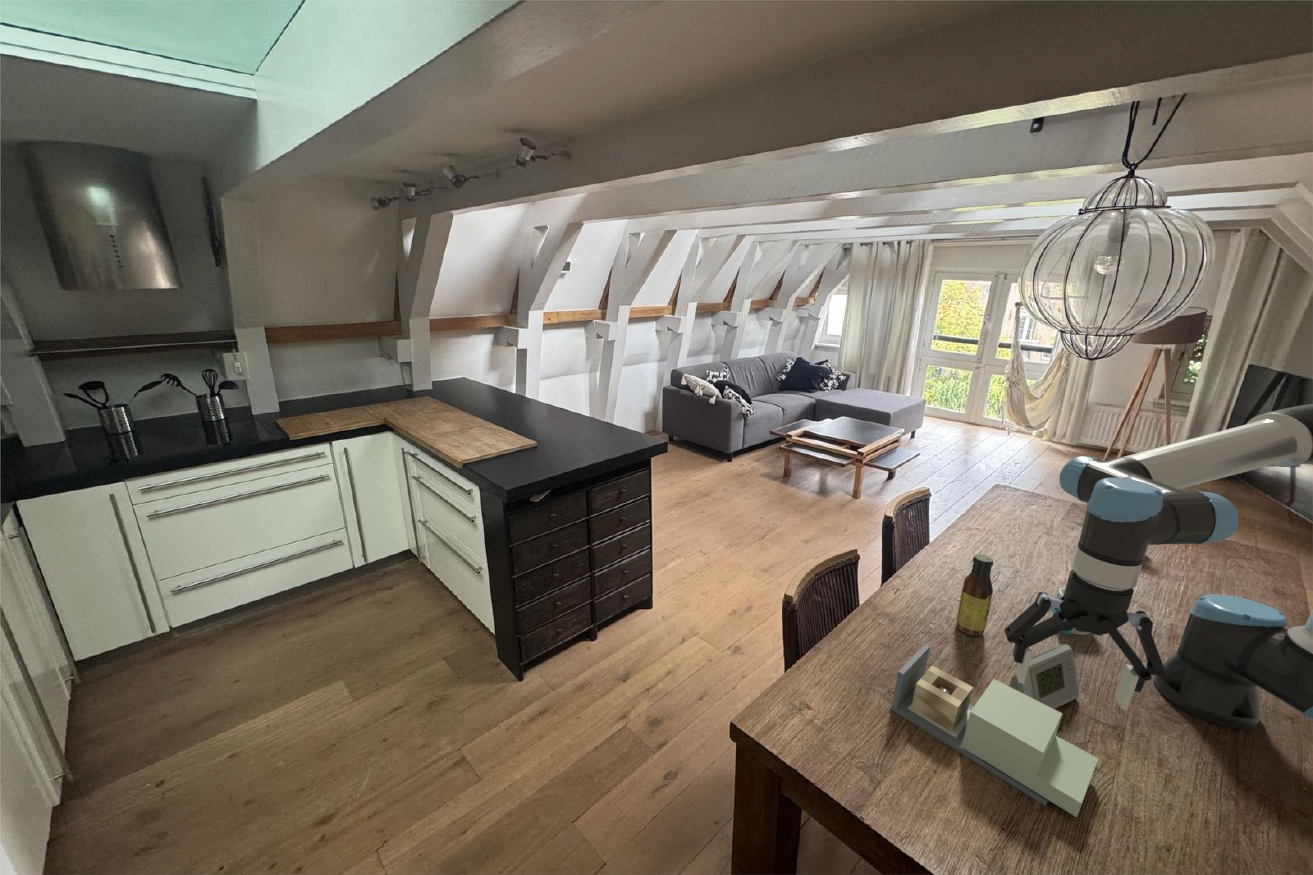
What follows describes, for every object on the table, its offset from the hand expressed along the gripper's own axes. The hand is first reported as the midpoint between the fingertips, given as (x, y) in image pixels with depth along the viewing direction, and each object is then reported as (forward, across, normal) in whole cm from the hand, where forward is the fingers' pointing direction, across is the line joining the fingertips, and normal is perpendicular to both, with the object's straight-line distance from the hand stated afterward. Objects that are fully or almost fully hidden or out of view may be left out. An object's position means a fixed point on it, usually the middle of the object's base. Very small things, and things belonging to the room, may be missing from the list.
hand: (1068, 690), depth 84 cm
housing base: (+18, +10, -4) cm, 21 cm away
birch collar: (+17, +16, -7) cm, 24 cm away
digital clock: (+19, -4, -20) cm, 27 cm away
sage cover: (+17, +3, -1) cm, 17 cm away
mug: (+19, -16, -51) cm, 57 cm away
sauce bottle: (+19, +7, -40) cm, 44 cm away
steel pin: (+18, +16, -7) cm, 25 cm away
